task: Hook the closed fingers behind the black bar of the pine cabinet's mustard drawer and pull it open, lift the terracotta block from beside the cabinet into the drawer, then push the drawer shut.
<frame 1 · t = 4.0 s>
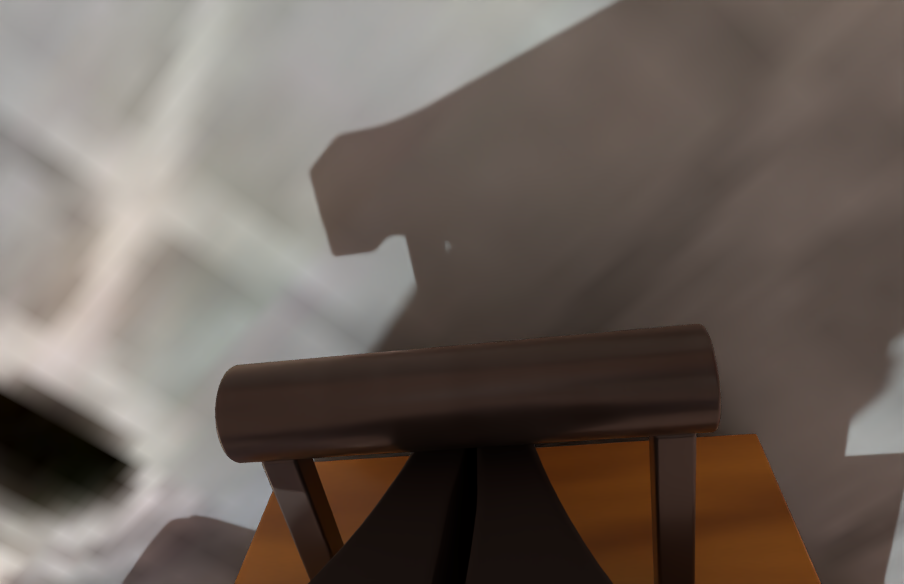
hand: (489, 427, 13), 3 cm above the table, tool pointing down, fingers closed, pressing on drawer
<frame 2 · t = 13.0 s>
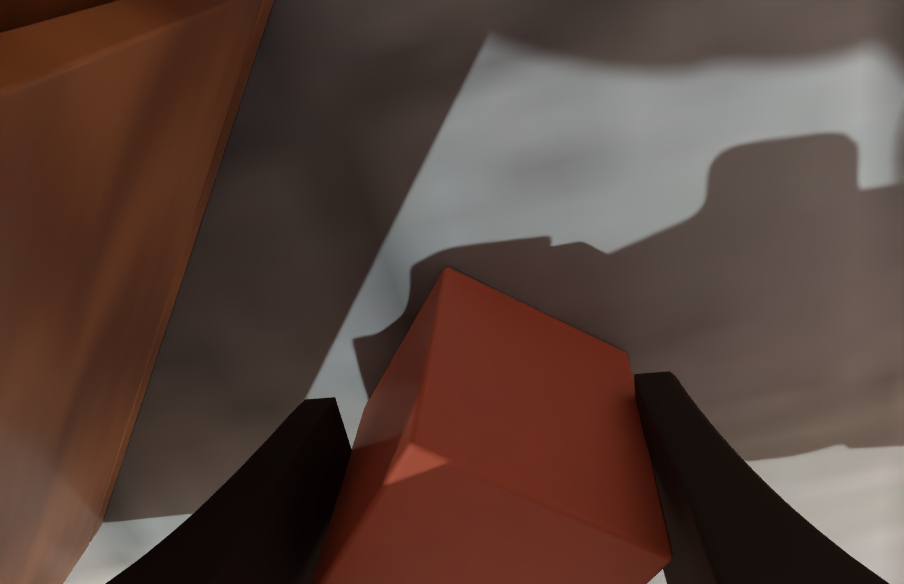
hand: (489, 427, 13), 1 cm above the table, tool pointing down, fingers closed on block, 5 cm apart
block: (490, 381, 14), on the table, touching gripper
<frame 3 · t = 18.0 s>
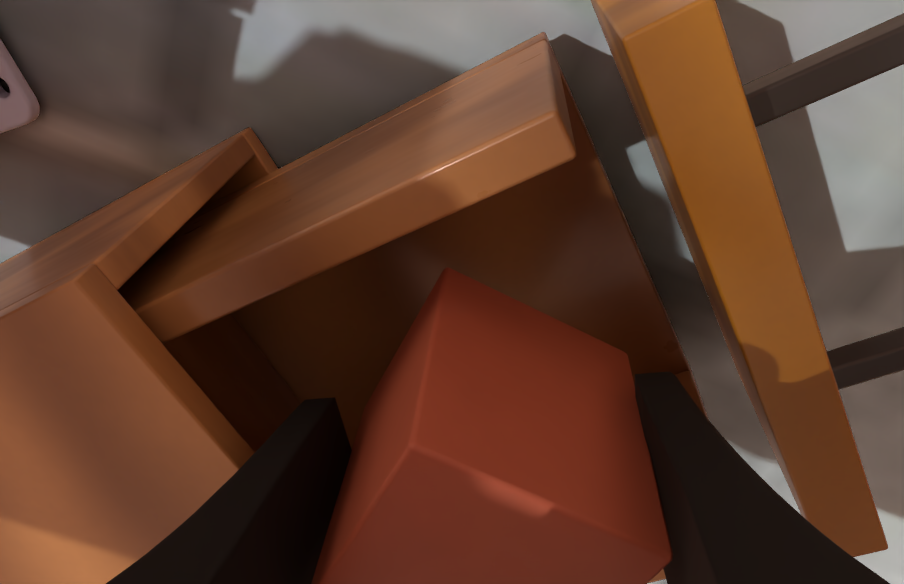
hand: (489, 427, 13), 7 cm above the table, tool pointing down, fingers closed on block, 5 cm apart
cabinet: (187, 387, 22), on the table
block: (490, 381, 14), point 5 cm above the table, touching gripper
drawer: (575, 310, 15), point 4 cm above the table, slide at 8.7 cm
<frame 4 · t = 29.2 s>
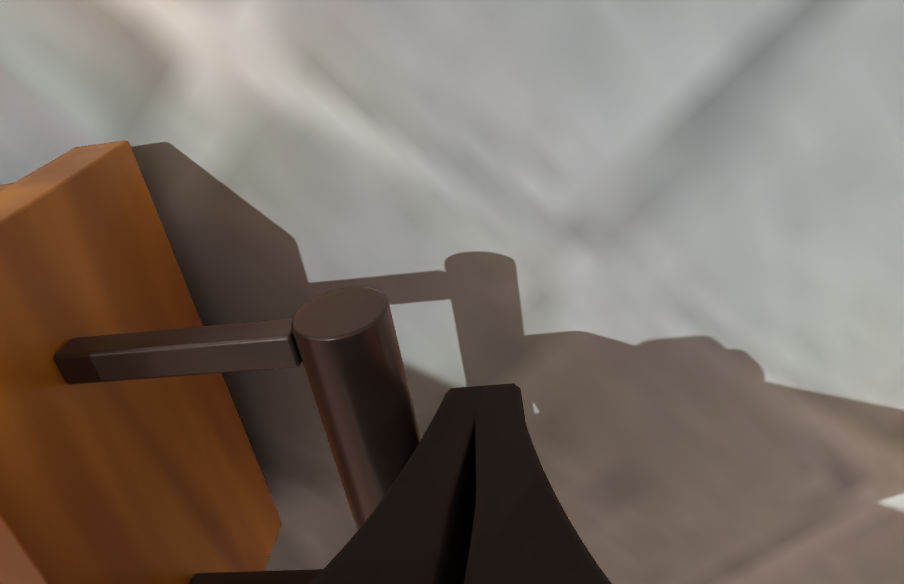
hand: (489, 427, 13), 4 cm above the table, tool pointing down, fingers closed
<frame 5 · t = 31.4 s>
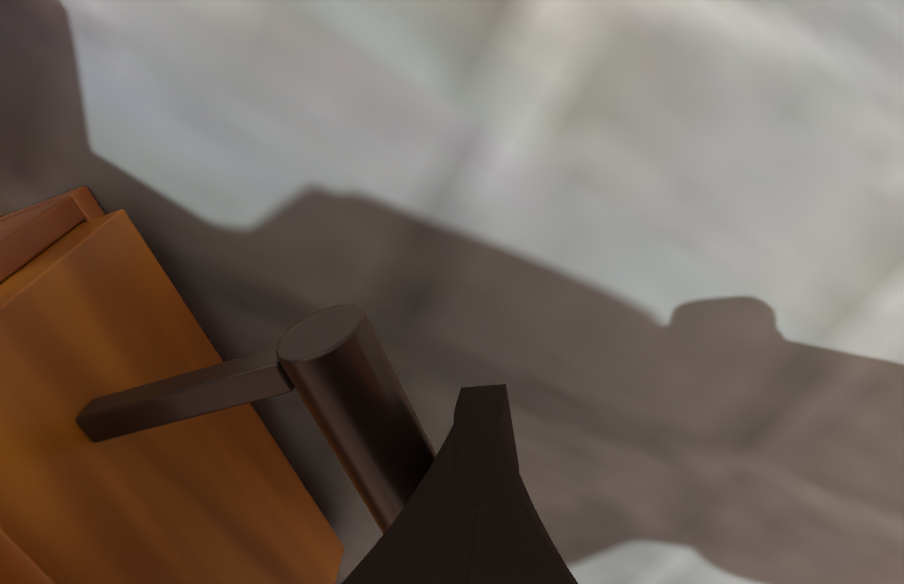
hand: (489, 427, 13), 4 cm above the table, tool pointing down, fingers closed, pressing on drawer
cabinet: (15, 448, 20), on the table
drawer: (51, 535, 15), point 4 cm above the table, slide at -0.1 cm, touching block, cabinet, gripper
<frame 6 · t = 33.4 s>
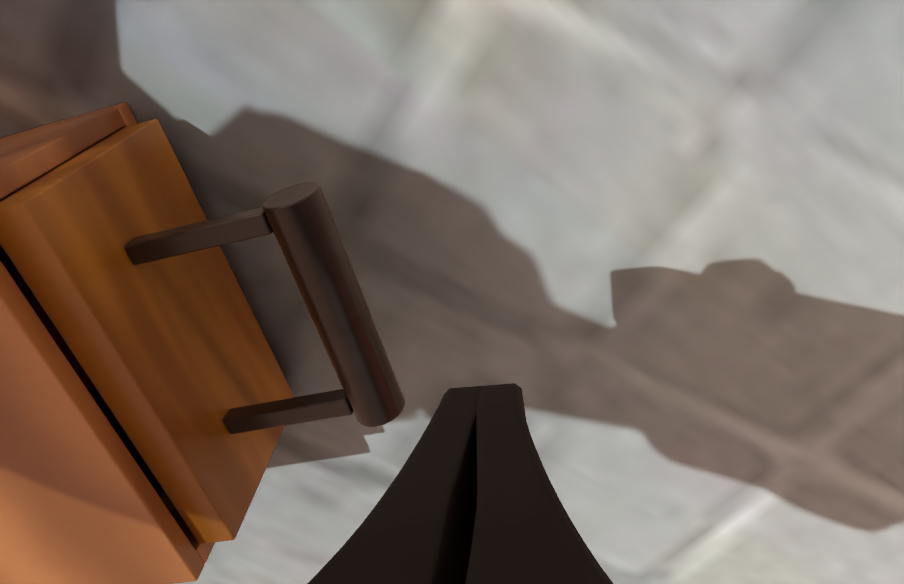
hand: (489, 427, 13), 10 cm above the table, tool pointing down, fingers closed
cabinet: (44, 308, 25), on the table
block: (74, 322, 23), point 2 cm above the table, touching drawer
drawer: (85, 350, 21), point 4 cm above the table, slide at 0.0 cm, touching block, cabinet
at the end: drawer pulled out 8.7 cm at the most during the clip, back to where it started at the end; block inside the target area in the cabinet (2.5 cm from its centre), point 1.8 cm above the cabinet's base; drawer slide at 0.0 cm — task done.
